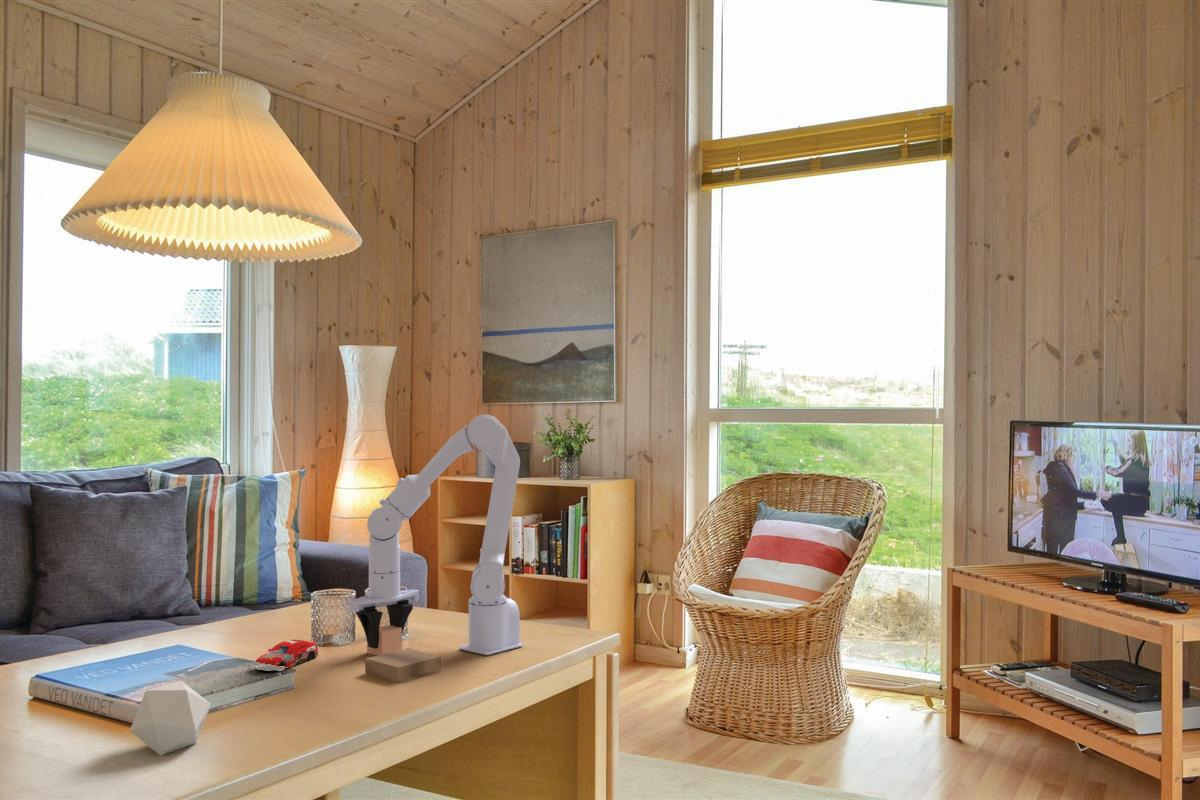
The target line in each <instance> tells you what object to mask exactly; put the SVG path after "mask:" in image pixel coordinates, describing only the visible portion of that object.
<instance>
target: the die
mask: <svg viewBox="0 0 1200 800" xmlns="http://www.w3.org/2000/svg"><path fill="white" fill-rule="evenodd" d="M211 706H212V703H210V702H209V701H208V700H207V699H205V698H204V697H202V695H200V694H199V693H198V692H196V691H195V690H194V689H193V688H191V687H190V686H189V685H188V684H186V683H185V682H184V681H182V680H179V681H175V682H172V683H168V684H164V685H160V686H157V687H152V688H150V689H146V690H145V692H144V694H143V697H142V699H141V701H140V704H139V707H138V709H137V712H136V714H135V717H134V718H133V721H132V724H131V726H130V729H129V732H130V733H131V734H133V735H134V736H135V737H137V738H138V739H139V740H140V741H141V742H143V743H144V744H145V745H146V746H147V747H149V748H150V749H152V750H153V752H155V753H156V754H158V755H159V756H165V755H167V754H170V753H173V752H175V751H179V750H181V749H185V748H187V747H189V746H192V745H195V744H197V741H198V739H199V737H200V734H201V731H202V729H203V726H204V723H205V721H206V718H207V715H208V714H209V711H210V707H211Z"/></svg>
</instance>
